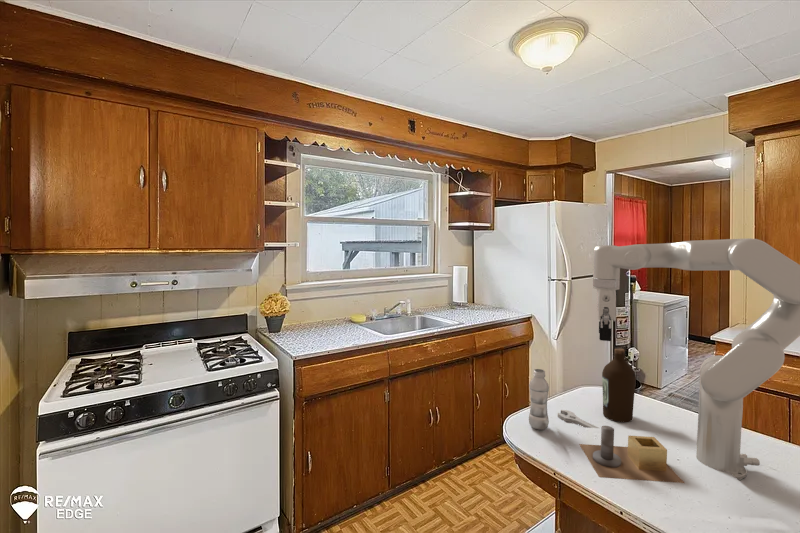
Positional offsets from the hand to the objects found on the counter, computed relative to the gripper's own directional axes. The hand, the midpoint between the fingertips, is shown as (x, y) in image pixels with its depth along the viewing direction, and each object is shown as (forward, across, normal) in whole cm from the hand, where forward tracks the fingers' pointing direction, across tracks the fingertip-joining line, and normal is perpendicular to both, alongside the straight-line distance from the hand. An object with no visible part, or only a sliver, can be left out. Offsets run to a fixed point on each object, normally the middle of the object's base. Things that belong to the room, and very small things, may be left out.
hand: (604, 336), depth 127 cm
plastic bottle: (+33, -2, +20) cm, 39 cm away
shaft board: (+33, -16, -6) cm, 37 cm away
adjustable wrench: (+34, +4, +4) cm, 34 cm away
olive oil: (+33, +18, -5) cm, 38 cm away
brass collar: (+32, -15, -11) cm, 37 cm away
